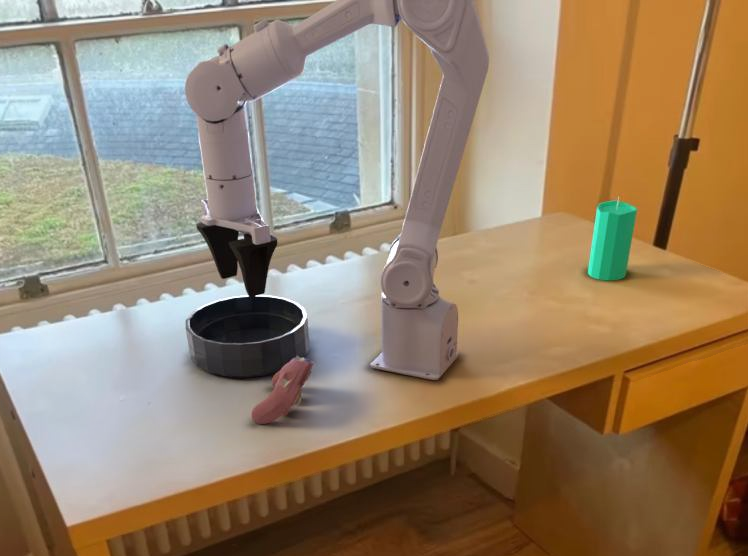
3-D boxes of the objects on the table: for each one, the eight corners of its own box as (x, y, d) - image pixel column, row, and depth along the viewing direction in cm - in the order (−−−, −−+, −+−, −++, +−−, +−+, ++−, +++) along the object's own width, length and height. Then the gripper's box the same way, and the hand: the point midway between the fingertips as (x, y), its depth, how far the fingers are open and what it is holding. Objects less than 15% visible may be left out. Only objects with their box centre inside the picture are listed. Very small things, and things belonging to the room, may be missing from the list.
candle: (586, 266, 132) (597, 190, 125) (623, 267, 131) (636, 191, 124) (589, 280, 127) (600, 202, 120) (628, 281, 126) (641, 202, 119)
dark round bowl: (329, 339, 112) (327, 305, 109) (270, 390, 101) (266, 353, 98) (233, 321, 118) (229, 288, 115) (167, 367, 107) (160, 332, 104)
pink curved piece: (281, 439, 94) (303, 394, 90) (246, 421, 94) (267, 375, 89) (303, 398, 102) (324, 355, 98) (271, 382, 101) (291, 337, 97)
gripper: (172, 167, 98) (189, 276, 106) (225, 193, 88) (240, 311, 96) (224, 158, 101) (237, 264, 109) (281, 182, 91) (291, 296, 99)
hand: (242, 285), depth 103 cm, fingers open, 7 cm apart
